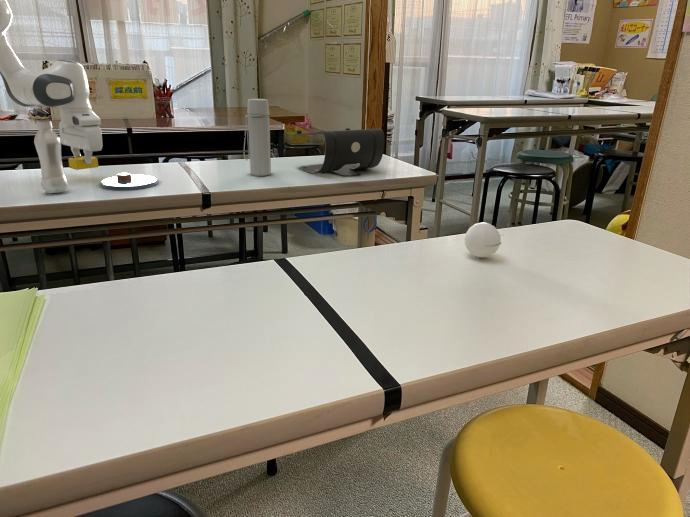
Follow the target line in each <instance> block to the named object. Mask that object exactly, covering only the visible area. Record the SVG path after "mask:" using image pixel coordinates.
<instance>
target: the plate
mask: <svg viewBox="0 0 690 517" xmlns="http://www.w3.org/2000/svg"><path fill="white" fill-rule="evenodd" d="M157 184H158V178H156V177H155V176H151V175H146V174H131V179H127V180H119V179H117V175H116V176H112V177H107V178H104V179H103V180H101V187H102V188H104V189H106V190H112V191H134V190H143V189H149V188H151V187H154V186H156V185H157Z"/></svg>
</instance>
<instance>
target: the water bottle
mask: <svg viewBox="0 0 690 517" xmlns="http://www.w3.org/2000/svg"><path fill="white" fill-rule="evenodd" d="M269 106H270V105H269V100H268V99H266V98H247V110H246V111H247V112H246V114H244V118H245V124H244V125H245V126H244V127H245V128H244V135H246V138H244V139H243V140H244V141H243V150H245V146H246V142H248V143H247V155H248V157H247V158H246V155H245V153H243V158H244V161H248V160H249V172H250V174H251V175H252V176H254V177H267V176H270V175H271V173H272V163H271V162H272V161H271V160H272V159H271V127H270V126H271V125H270V124H271V122H270V115H271V113H270V108H269ZM247 129H248V130H247ZM246 139H247V141H246Z"/></svg>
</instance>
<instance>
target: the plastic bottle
mask: <svg viewBox="0 0 690 517" xmlns="http://www.w3.org/2000/svg"><path fill="white" fill-rule="evenodd" d="M35 124H36V129H37V130H38V131H37V132H36V134H35V136H34V140H33V143H34V146H35V150H36V153H37V155H38V159H39V165H40V171H41V178H40V179H41V180H40V181H41V182H40V184H41V188H42V190H43V191H44V192H45V193H47V194H48V193H49V194H59V193H63V192H66V191H67V190H68V188H69V182H68V178H67V176H66V173H65V169H64V166H63V157H62V143H61V140H60V135H58V134H57V133H56V132H55V130H53V128H54V126H53V122H52V121H51V120H37V121H35Z"/></svg>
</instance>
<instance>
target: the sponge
mask: <svg viewBox="0 0 690 517" xmlns="http://www.w3.org/2000/svg"><path fill="white" fill-rule="evenodd" d="M83 158H84V156H82V157H76V158H74V157H69V158H67V159H68V168H69V169H73V170H76V171H79V170H87V169H94V168H95V169H96V168H99V161H98V160H99V159H98V157H95V156H92V157H91V161H92V163H91V164H85V163H84V159H83Z"/></svg>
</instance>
